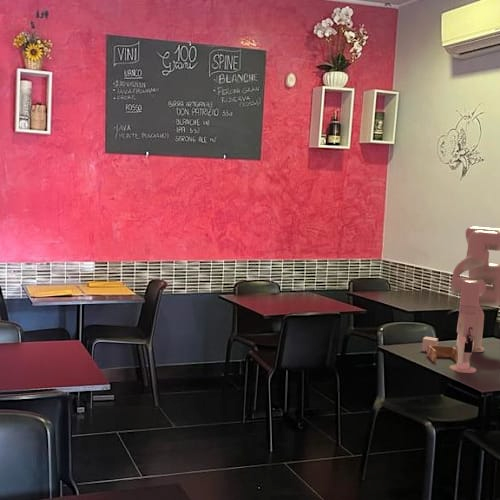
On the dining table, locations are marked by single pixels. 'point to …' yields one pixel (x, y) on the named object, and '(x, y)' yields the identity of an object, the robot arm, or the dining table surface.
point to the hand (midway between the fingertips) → (464, 349)
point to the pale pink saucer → (471, 370)
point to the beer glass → (462, 354)
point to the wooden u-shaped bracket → (441, 352)
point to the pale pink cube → (429, 342)
